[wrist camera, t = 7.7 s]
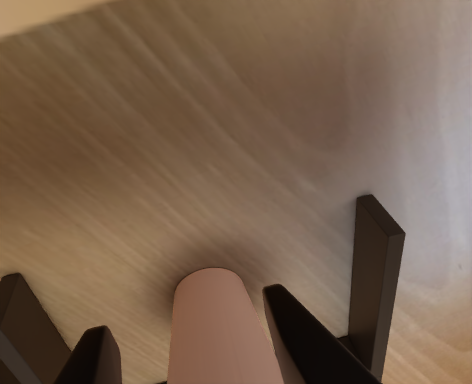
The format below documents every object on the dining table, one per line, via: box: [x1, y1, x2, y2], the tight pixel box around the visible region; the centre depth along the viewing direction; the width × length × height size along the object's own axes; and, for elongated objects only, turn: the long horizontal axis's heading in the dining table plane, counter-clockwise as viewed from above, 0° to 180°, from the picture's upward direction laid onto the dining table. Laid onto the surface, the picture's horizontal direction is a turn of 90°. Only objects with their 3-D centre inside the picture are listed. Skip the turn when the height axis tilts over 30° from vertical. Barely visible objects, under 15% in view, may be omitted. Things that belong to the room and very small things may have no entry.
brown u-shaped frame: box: [0, 195, 405, 384], centre depth 20 cm, size 12×18×3 cm
